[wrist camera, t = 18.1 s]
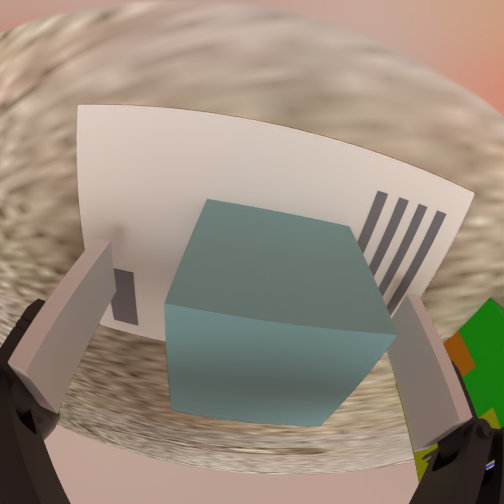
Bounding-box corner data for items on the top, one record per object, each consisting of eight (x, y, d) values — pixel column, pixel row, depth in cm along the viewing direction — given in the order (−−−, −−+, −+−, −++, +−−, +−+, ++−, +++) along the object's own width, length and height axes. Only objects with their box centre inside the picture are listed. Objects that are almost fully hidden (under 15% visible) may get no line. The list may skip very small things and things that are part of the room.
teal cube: (195, 306, 15) (171, 409, 10) (207, 198, 11) (164, 303, 6) (308, 323, 15) (320, 426, 10) (349, 226, 12) (397, 334, 7)
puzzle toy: (451, 392, 22) (475, 474, 13) (395, 382, 19) (420, 495, 11) (523, 328, 16) (565, 411, 8) (489, 296, 14) (553, 416, 6)
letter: (100, 323, 16) (99, 325, 16) (79, 104, 9) (77, 104, 9) (370, 366, 18) (370, 368, 17) (473, 192, 11) (475, 193, 10)
